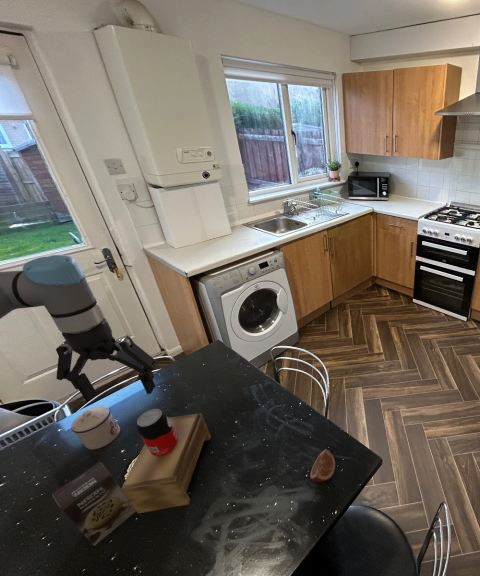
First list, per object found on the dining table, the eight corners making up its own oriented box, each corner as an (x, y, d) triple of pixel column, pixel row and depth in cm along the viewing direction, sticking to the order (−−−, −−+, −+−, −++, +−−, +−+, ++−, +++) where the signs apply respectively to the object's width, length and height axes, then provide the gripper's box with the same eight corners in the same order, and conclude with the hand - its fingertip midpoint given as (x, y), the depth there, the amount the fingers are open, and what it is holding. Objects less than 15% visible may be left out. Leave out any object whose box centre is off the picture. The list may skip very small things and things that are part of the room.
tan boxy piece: (137, 513, 79) (118, 487, 73) (169, 442, 96) (156, 416, 90) (188, 504, 81) (173, 477, 75) (211, 436, 98) (200, 410, 92)
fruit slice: (318, 456, 93) (316, 446, 90) (339, 460, 92) (338, 450, 89) (306, 485, 86) (304, 474, 83) (330, 490, 85) (328, 479, 82)
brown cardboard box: (94, 547, 73) (60, 511, 65) (83, 530, 76) (49, 494, 68) (137, 510, 80) (111, 474, 72) (126, 496, 83) (99, 460, 75)
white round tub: (123, 438, 97) (107, 413, 92) (85, 456, 92) (66, 431, 86) (118, 414, 105) (103, 389, 100) (83, 430, 100) (65, 405, 94)
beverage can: (170, 458, 81) (153, 428, 75) (145, 458, 81) (127, 428, 75) (183, 436, 86) (169, 407, 80) (161, 436, 86) (145, 406, 80)
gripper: (154, 310, 73) (181, 376, 83) (31, 319, 69) (75, 387, 79) (138, 329, 67) (169, 398, 77) (1, 340, 63) (53, 411, 73)
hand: (121, 393), depth 78 cm, fingers open, 13 cm apart
